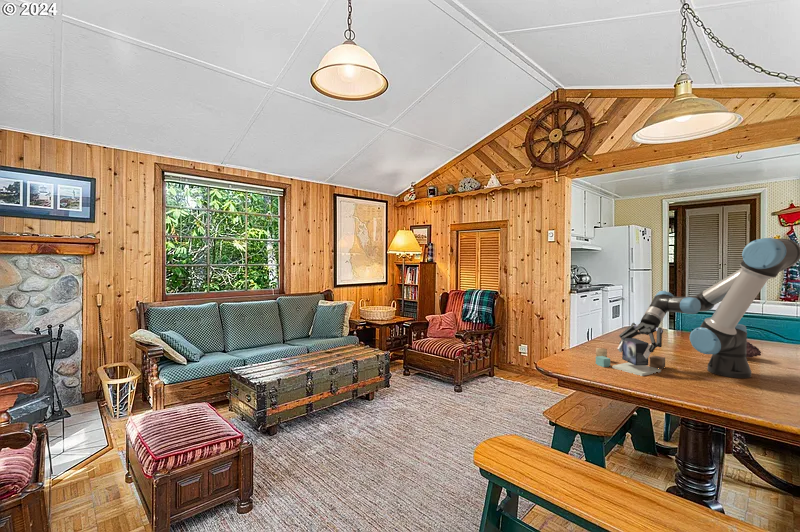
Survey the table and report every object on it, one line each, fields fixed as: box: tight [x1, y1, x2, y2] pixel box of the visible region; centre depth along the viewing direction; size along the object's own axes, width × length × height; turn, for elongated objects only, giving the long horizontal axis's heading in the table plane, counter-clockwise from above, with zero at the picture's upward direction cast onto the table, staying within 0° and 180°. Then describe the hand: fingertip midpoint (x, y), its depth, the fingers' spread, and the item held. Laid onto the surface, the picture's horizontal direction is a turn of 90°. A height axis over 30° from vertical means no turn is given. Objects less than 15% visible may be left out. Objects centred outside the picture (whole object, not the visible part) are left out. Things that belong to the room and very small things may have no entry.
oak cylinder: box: [595, 347, 608, 358], centre depth 196 cm, size 5×5×6 cm
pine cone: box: [746, 341, 762, 358], centre depth 197 cm, size 18×10×10 cm, turn 8°
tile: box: [611, 362, 662, 377], centre depth 179 cm, size 14×14×1 cm
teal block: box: [595, 356, 611, 368], centre depth 187 cm, size 5×4×4 cm
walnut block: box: [649, 355, 666, 370], centre depth 183 cm, size 5×5×5 cm
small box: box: [621, 337, 650, 366], centre depth 180 cm, size 11×6×10 cm, turn 2°
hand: (631, 353), depth 179 cm, fingers closed on small box, 12 cm apart
